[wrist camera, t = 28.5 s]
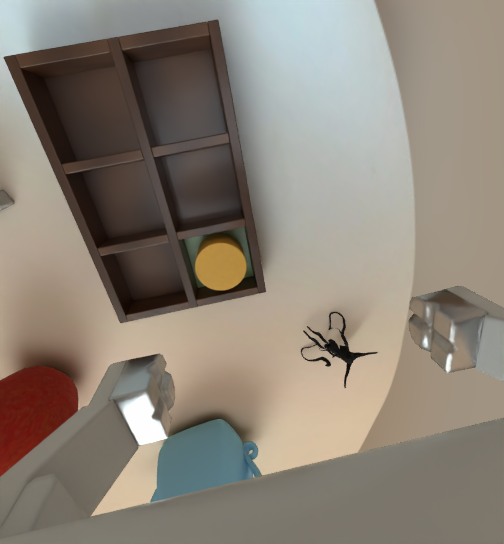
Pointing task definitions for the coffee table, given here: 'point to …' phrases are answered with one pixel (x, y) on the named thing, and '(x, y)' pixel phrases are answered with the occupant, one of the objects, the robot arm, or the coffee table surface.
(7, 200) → the grey flat piece
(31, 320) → the coffee table surface
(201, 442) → the teapot
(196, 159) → the grid
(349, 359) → the creature
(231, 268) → the cylinder
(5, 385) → the apple
